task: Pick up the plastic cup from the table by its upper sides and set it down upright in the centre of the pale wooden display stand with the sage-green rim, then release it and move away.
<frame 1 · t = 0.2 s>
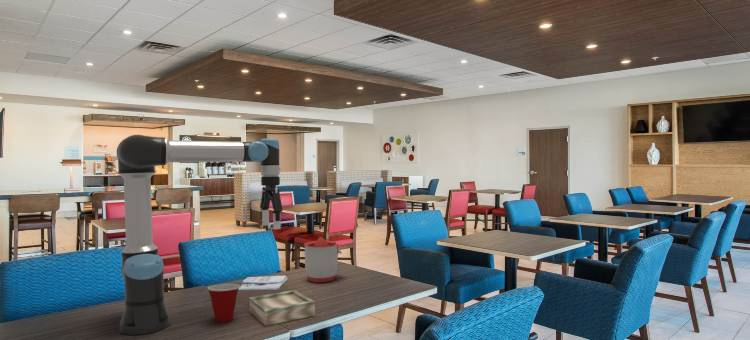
hand: (271, 227, 190), 28 cm above the table, tool pointing down, fingers open, 13 cm apart
plastic cup: (224, 320, 159), on the table
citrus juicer: (323, 280, 212), on the table
display stand: (281, 313, 165), on the table
white flat piece: (262, 285, 205), on the table
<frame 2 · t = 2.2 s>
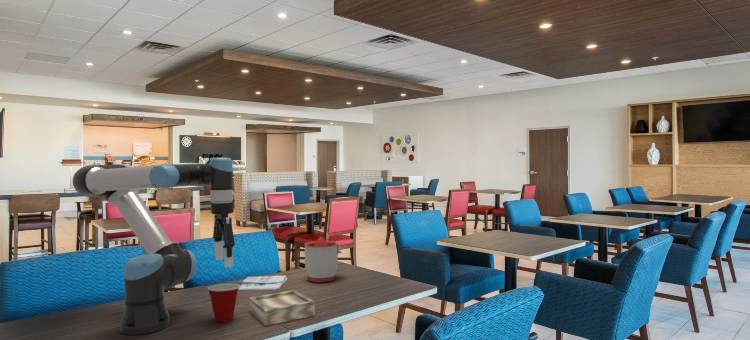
hand: (223, 263, 159), 20 cm above the table, tool pointing down, fingers open, 13 cm apart
nothing on the table moved.
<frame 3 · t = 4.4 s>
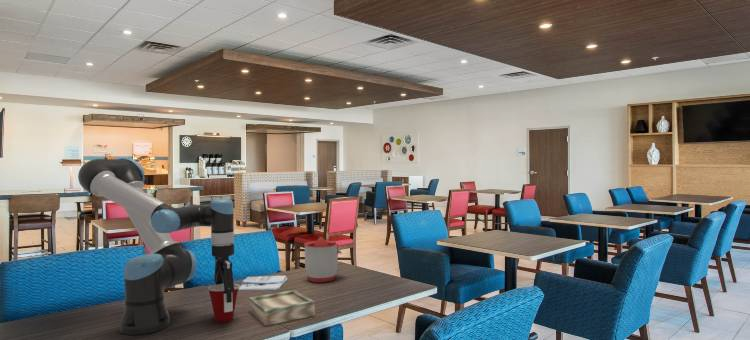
hand: (224, 307, 159), 4 cm above the table, tool pointing down, fingers closed on plastic cup, 11 cm apart
plastic cup: (224, 320, 159), on the table, touching gripper
everything else where it was.
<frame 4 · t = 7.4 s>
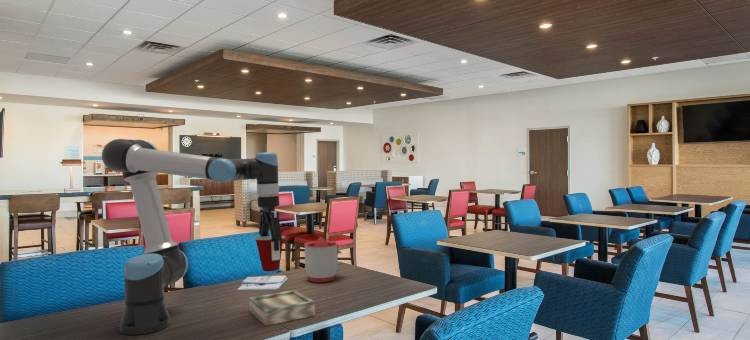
hand: (270, 257, 163), 21 cm above the table, tool pointing down, fingers closed on plastic cup, 11 cm apart
plastic cup: (271, 270, 163), point 16 cm above the table, touching gripper
everything else where it was.
when the fingers open (10 cm above the table, at t = 10.6 s): plastic cup drops 1 cm, resting on display stand.
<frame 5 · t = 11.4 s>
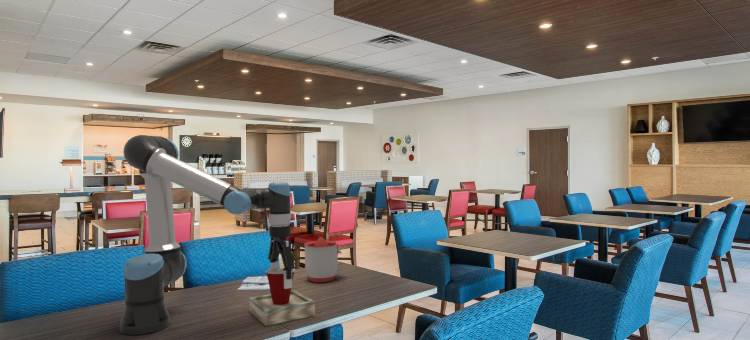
hand: (281, 283, 165), 11 cm above the table, tool pointing down, fingers open, 13 cm apart
plastic cup: (281, 302, 165), point 4 cm above the table, touching display stand
everything else where it was.
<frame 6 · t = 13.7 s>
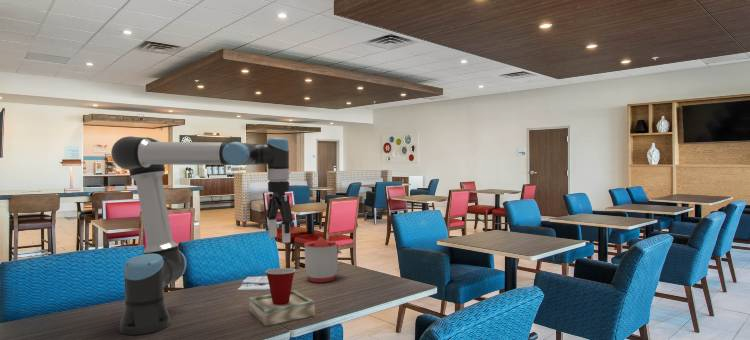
hand: (279, 239, 165), 27 cm above the table, tool pointing down, fingers open, 13 cm apart
nothing on the table moved.
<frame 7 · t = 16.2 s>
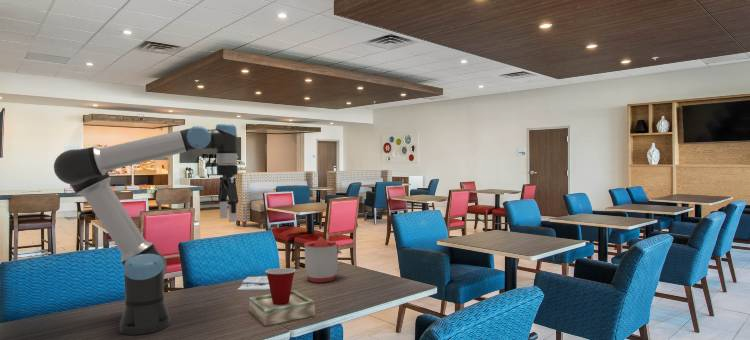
hand: (228, 220, 175), 33 cm above the table, tool pointing down, fingers open, 13 cm apart
nothing on the table moved.
at the end: plastic cup inside the target area on the display stand (0.1 cm from its centre), point 3.8 cm above the display stand's base; plastic cup tilted 0°; the gripper is holding nothing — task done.
